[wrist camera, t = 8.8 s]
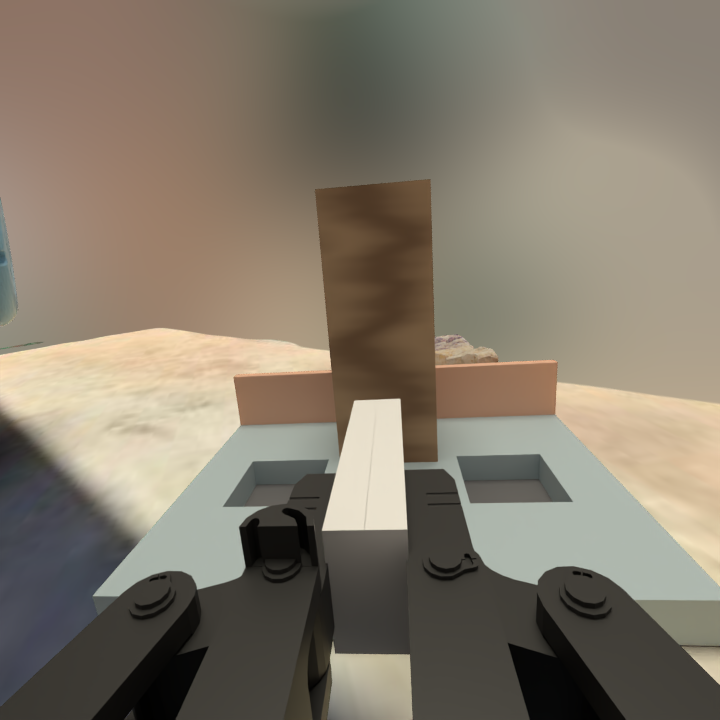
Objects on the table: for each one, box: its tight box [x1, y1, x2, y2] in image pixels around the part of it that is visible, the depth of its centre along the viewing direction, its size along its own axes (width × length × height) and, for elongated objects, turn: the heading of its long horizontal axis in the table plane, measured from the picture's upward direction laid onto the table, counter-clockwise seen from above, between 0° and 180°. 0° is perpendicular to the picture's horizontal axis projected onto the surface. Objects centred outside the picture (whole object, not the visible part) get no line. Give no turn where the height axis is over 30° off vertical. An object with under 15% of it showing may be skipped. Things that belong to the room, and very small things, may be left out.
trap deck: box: [93, 360, 720, 646], centre depth 24 cm, size 24×18×6 cm
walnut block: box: [315, 179, 438, 463], centre depth 27 cm, size 6×6×16 cm
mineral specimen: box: [435, 334, 498, 365], centre depth 41 cm, size 13×7×6 cm, turn 30°
